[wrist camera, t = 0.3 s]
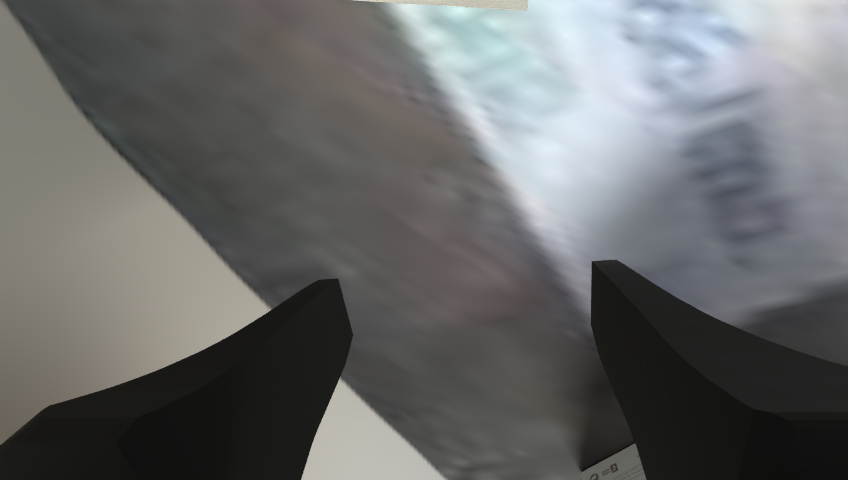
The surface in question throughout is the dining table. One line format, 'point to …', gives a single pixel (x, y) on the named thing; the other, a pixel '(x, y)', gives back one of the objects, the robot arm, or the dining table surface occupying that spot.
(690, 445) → the robot arm
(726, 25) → the dining table surface
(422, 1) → the mat
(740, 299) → the dining table surface
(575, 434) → the dining table surface
